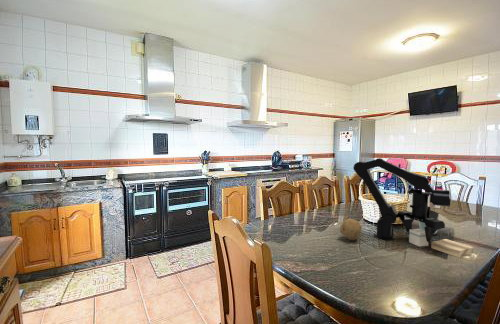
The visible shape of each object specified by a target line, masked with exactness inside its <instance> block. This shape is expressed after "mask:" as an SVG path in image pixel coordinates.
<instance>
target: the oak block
mask: <svg viewBox="0 0 500 324" xmlns="http://www.w3.org/2000/svg"><path fill="white" fill-rule="evenodd" d="M430 248H431V249H432V250H435V251H439V252H441V253H445V254H447V255H451V256H453V257H457V258H463V257H466V256H469V255H472V253H473V254H474V246H470V245H468V244H465V243H461V242H457V241H453V240H451V239H447V238H444V239H440V240H439V239H438V240H434V241H431V247H430ZM462 256H463V257H462Z"/></svg>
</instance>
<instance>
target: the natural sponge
mask: <svg viewBox="0 0 500 324" xmlns="http://www.w3.org/2000/svg"><path fill="white" fill-rule="evenodd" d="M361 231H362V225H361V224H360V222H359V221H358V220H356V219H354V218H348V219H345V220H344V221H343V222H342V223H341V225H340V227H339V232H340V234H341V235H342V236H345V237H346V238H347V239H348V241H349V240H350V241H355V240H356V239H358V238H359V236H360V234H361Z"/></svg>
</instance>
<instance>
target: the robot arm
mask: <svg viewBox="0 0 500 324" xmlns="http://www.w3.org/2000/svg"><path fill="white" fill-rule="evenodd" d="M377 167H378V168H380V169H382V170H385V171H387V172H388V173H391V174H393V175H395V176H396V177H399V178H400V179H404V181H406V182H407V183H408V184H409V185H411V186H412V187H411V188H410V189H408V190H407V194H411V195H412V199H411V200H412V201H411V204H409V208H411V211H410V210H409V211H408V210H400V211H398V210H397V209H396V208H395V206H394V204H391V205H390V203H388V202H387V200H386V198H385V197H384V195H383V193H382V192H381V190H380V189H379V187H378V185H377V184H376V182H375V180H374V178H373V177H372V174H371V170H370V169H374V168H377ZM353 171H354V172H355V173H356V174H357V176H358V177H359V178H360V179H361V180H363V182H364V184H365V185H366V187H367V189H368V191H369V192H370V195H371V196H372V197H373V200H374V202H376V205H377V207H378V209H379V213H380V217H379V218H378V219H377V221H376V233H375V234H374V237H376V238H378V239H381V240H383V241H389V240H396V237H394V224H395V223H396V222H397V219H399V220H400V221H401V223H402V225H403V227H404V229H405V230H406V233H407V235H409V232H410V229H413V228H412V227H413V222H414V221H417V222H419V221H420V222H423V223H425V225H426V227H424V228H425V235H426V240H427V242H428V243H431V242H430V241H431V240H432V238H433V236H434V235H435V234H434V233H435V232H436V231H437V230H442V229H445V227H446V224H445V222H444V220H440V219H439V220H437V218H438V215H440V214H439V212H437V211H435V210H431V206H429V203H431V204H432V205H433V206H439V207H449V208H450V207H451V197H450V196H451V194H450V192H451V191H450V190H448V189H445V190H444V189H443V190H442V189H434V188H433V187H432V186H431V185H430V184H429V179H428V177H427V176H425V175H422V174H418V173H417V172H416V173H415V172H411V171H409V170H406V169H404V168H401V167H399V166H397V165H395V164H393V163H391V162H389V161H387V160H384V159H383V158H380V157H379V158H378V157H377V158H376V159H373V160H369V161H366V162H365V161H356V163H355V164H353ZM427 218H428V219H429V220H428V219H427ZM431 218H433V219H431ZM437 232H438V231H437ZM433 234H434V235H433Z"/></svg>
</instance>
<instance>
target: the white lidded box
mask: <svg viewBox="0 0 500 324" xmlns="http://www.w3.org/2000/svg"><path fill="white" fill-rule="evenodd" d="M408 235H409V237H408V242H409V243H410V244H412V245H415V246H417V247H419V248H420V247H429V242H427V240H426V235H425V231H424V230H421V229H420V228H412V229H410V232H409V234H408Z"/></svg>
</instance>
